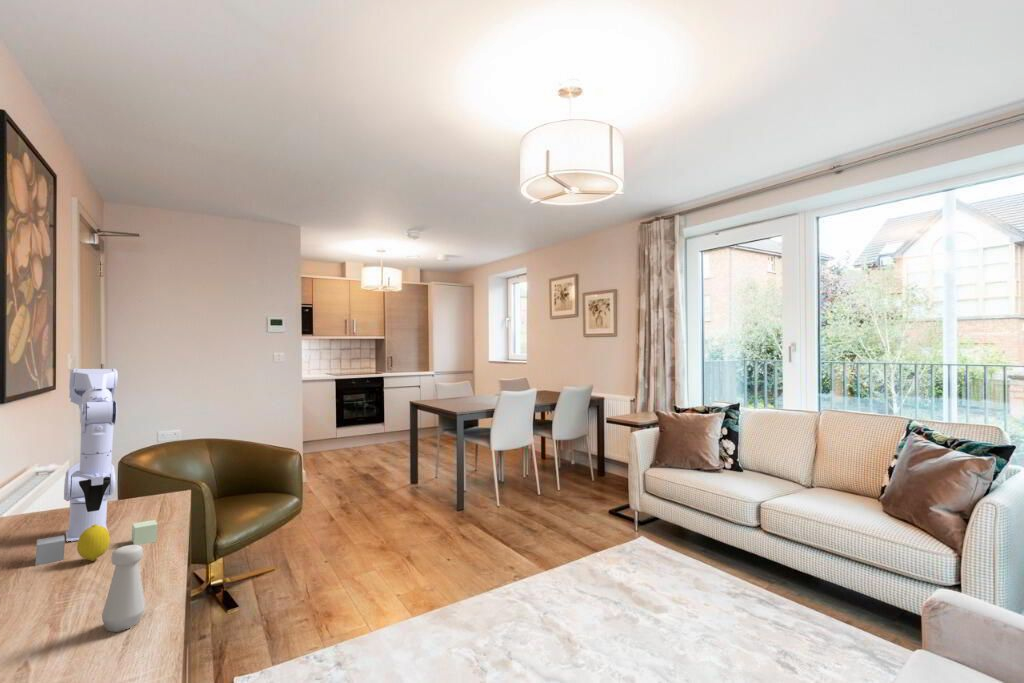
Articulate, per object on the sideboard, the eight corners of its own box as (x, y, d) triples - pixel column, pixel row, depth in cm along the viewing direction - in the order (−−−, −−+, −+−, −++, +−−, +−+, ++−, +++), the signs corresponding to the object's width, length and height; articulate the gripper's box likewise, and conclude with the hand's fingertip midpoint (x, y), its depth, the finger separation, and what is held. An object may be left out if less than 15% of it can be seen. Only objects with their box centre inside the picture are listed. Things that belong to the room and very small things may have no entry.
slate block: (35, 560, 109) (36, 539, 109) (62, 554, 112) (64, 535, 112) (35, 566, 105) (36, 545, 106) (63, 560, 108) (64, 540, 109)
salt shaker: (96, 638, 78) (100, 556, 79) (106, 621, 83) (110, 544, 84) (141, 629, 81) (145, 550, 82) (147, 613, 86) (151, 539, 87)
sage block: (131, 541, 120) (132, 523, 120) (153, 537, 123) (154, 519, 124) (133, 547, 117) (134, 528, 117) (156, 542, 120) (157, 524, 120)
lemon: (89, 567, 105) (92, 529, 105) (69, 564, 106) (71, 527, 106) (115, 557, 110) (117, 521, 111) (95, 555, 111) (97, 519, 112)
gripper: (72, 449, 117) (69, 506, 117) (75, 459, 107) (71, 521, 106) (110, 446, 122) (107, 501, 122) (116, 455, 112) (112, 515, 111)
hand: (93, 510), depth 114 cm, fingers closed
